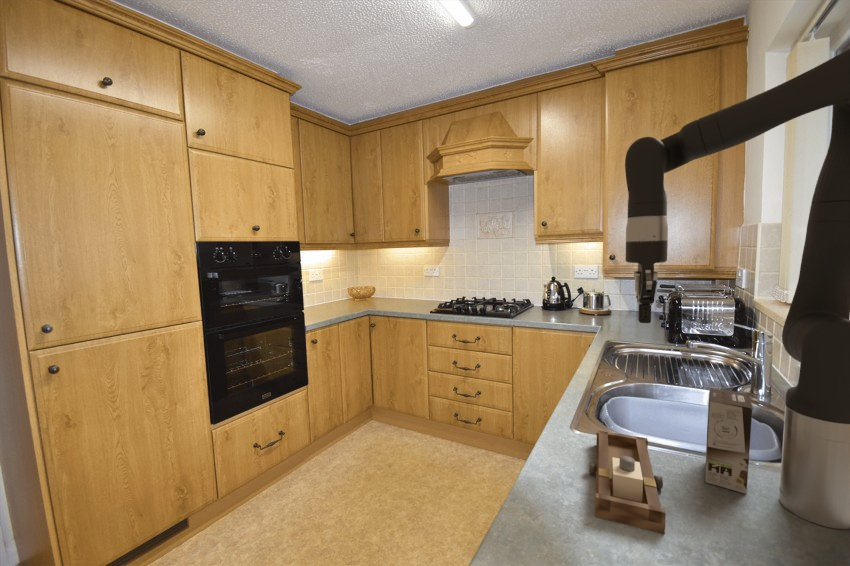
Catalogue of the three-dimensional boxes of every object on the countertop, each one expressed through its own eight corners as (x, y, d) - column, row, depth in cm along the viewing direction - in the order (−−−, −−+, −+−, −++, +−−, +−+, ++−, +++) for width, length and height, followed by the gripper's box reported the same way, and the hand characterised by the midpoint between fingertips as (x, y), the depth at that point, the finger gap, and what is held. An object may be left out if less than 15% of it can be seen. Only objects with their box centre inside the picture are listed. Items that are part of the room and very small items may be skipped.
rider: (639, 482, 72) (639, 453, 71) (642, 502, 66) (643, 471, 66) (611, 477, 73) (612, 449, 73) (612, 495, 68) (613, 465, 68)
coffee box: (748, 495, 70) (753, 408, 69) (704, 482, 74) (708, 400, 73) (745, 471, 77) (750, 392, 76) (705, 461, 81) (709, 386, 80)
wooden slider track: (653, 454, 84) (653, 438, 84) (673, 536, 61) (674, 513, 60) (590, 443, 89) (591, 428, 89) (587, 515, 66) (587, 494, 65)
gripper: (673, 238, 73) (671, 329, 74) (662, 239, 85) (659, 318, 86) (628, 239, 76) (626, 327, 77) (623, 240, 88) (622, 316, 89)
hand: (644, 322), depth 82 cm, fingers closed
